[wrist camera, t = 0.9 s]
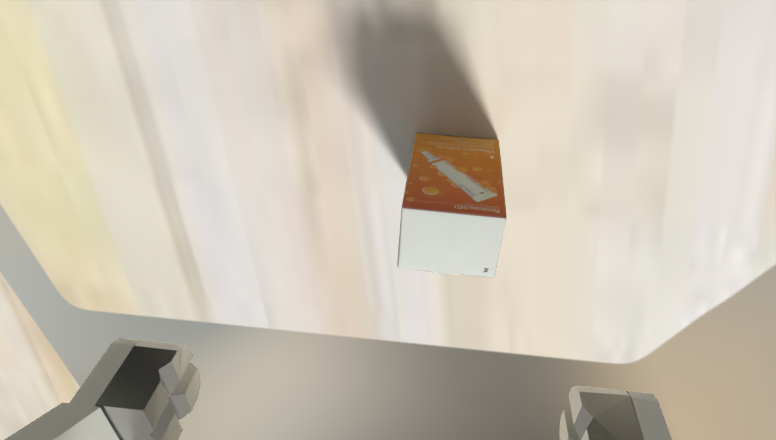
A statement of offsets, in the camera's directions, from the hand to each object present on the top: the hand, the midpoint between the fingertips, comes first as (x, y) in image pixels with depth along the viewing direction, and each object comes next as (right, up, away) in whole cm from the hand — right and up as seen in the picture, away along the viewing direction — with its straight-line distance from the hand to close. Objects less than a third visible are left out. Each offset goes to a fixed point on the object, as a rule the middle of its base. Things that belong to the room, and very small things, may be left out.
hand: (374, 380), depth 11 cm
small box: (+7, +9, +39) cm, 41 cm away
